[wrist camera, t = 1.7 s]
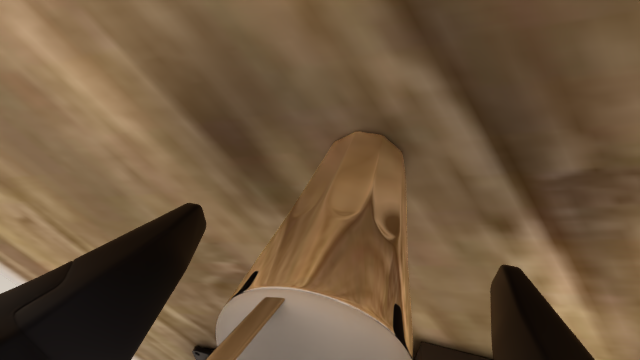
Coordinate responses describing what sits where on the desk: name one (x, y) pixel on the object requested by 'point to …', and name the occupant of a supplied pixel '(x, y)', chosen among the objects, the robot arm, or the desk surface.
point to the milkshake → (331, 268)
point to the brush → (442, 353)
